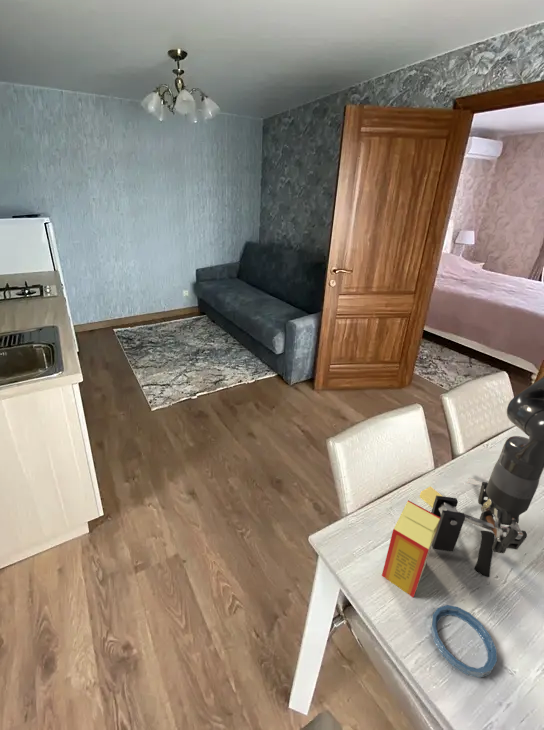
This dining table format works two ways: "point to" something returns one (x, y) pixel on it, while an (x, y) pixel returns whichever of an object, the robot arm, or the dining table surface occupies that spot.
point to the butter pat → (429, 495)
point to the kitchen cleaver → (484, 547)
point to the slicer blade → (472, 518)
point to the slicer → (447, 525)
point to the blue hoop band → (480, 630)
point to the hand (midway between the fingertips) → (490, 537)
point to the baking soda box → (410, 547)
